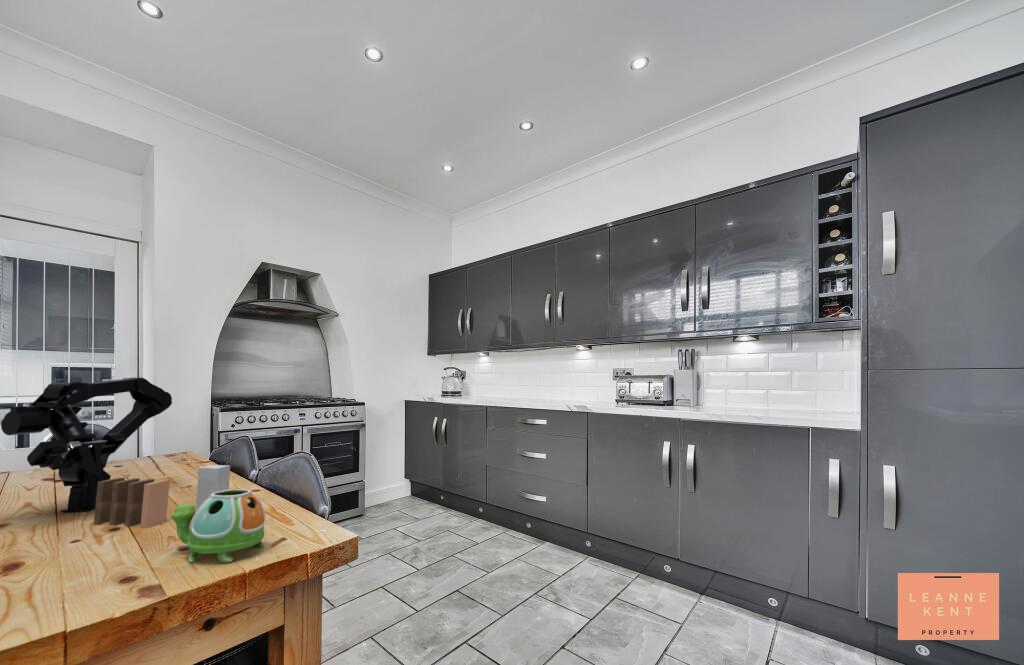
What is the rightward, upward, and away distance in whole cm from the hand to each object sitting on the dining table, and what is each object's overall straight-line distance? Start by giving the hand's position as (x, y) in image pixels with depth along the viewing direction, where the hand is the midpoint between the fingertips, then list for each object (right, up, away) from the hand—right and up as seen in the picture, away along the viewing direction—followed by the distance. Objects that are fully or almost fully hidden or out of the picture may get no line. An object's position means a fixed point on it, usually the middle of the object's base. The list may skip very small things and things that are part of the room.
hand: (96, 472), depth 110 cm
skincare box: (+26, -12, +5) cm, 29 cm away
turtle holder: (+46, -9, -22) cm, 51 cm away
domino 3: (+14, -11, -4) cm, 18 cm away
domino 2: (+9, -11, -3) cm, 15 cm away
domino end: (+18, -11, -4) cm, 22 cm away
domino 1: (+5, -11, -2) cm, 12 cm away
